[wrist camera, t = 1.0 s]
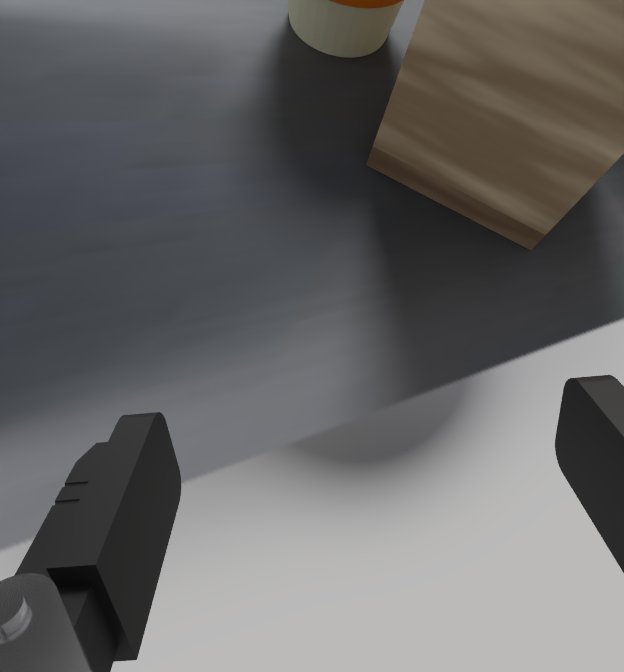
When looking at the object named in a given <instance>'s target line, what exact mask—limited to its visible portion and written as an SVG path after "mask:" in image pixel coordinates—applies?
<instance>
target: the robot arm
mask: <svg viewBox="0 0 624 672" xmlns="http://www.w3.org/2000/svg"><path fill="white" fill-rule="evenodd" d="M555 448H556V449H555V450H556V456H557V460H558V463H559V466H560V468H561V471H562V473H563V474H564V476H565V477H566V479H567V481H568V482H569V484H570V486H571V487H572V489H573V491H574V492H575V494H576V495H577V497H578V499H579V500H580V502H581V504H582V505H583V507H584V509H585V510H586V512H587V513H588V515H589V517H590V518H591V520H592V522H593V523H594V525H595V527H596V528H597V530H598V532H599V533H600V534H601V536H602V538H603V540H604V541H605V543H606V545H607V546H608V548H609V549H610V551H611V553H612V554H613V556H614V558H615V559H616V561H617V563H618V564H619V566H620V567H621V569H622V571H623V572H624V386H623V385H622V384H621V383H620V382H619V381H618V380H617V379H616V378H615V377H613V376H611V375H604V376H592V377H581V378H570V379H568V380H567V381H566V383H565V386H564V391H563V396H562V402H561V408H560V414H559V420H558V427H557V433H556V440H555ZM180 495H181V476H180V470H179V466H178V463H177V459H176V456H175V452H174V448H173V445H172V441H171V438H170V434H169V431H168V427H167V424H166V420H165V418H164V416H163V414H162V413H160V412H158V413H146V414H134V415H123V416H121V418H120V419H119V420H118V422H117V425H116V427H115V429H114V431H113V433H112V435H111V437H110V439H109V441H108V442H103V443H96V444H95V445H94V446H93V447H92V448H91V449H90V450H88V451H87V452H86V453H85V454H84V455H83V456H82V457H81V458H80V459H79V460H78V461H77V462H76V463H75V465H74V467H73V469H72V471H71V473H70V474H69V476H68V478H67V480H66V482H65V487H63V488H62V489H61V491H60V493H59V495H58V496H57V498H56V500H55V505H54V506H52V507H51V509H50V511H49V513H48V515H47V517H46V519H45V520H44V522H43V524H42V526H41V528H40V530H39V531H38V533H37V535H36V537H35V539H34V541H33V543H32V544H31V546H30V548H29V550H28V552H27V554H26V555H25V557H24V559H23V561H22V563H21V565H20V567H19V568H18V570H17V572H16V574H15V575H14V576H12V577H10V578H7V579H4V580H2V581H0V672H110V671H111V667H112V664H113V661H127V660H137V657H138V653H139V649H140V646H141V642H142V638H143V635H144V631H145V627H146V624H147V620H148V616H149V612H150V609H151V605H152V601H153V597H154V594H155V590H156V586H157V583H158V579H159V575H160V572H161V568H162V564H163V560H164V557H165V553H166V549H167V545H168V542H169V538H170V535H171V531H172V527H173V523H174V520H175V516H176V512H177V509H178V505H179V501H180Z"/></svg>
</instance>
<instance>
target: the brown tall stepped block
mask: <svg viewBox="0 0 624 672" xmlns="http://www.w3.org/2000/svg"><path fill="white" fill-rule="evenodd" d="M623 154H624V0H425V1H424V4H423V7H422V10H421V12H420V15H419V18H418V21H417V24H416V26H415V29H414V32H413V35H412V38H411V40H410V43H409V46H408V49H407V52H406V54H405V57H404V60H403V63H402V66H401V68H400V71H399V74H398V77H397V80H396V82H395V85H394V88H393V91H392V94H391V96H390V99H389V102H388V105H387V108H386V110H385V113H384V116H383V119H382V122H381V124H380V127H379V130H378V133H377V136H376V138H375V141H374V144H373V147H372V150H371V152H370V155H369V158H368V161H367V164H366V165H367V166H369V167H371V168H373V169H374V170H376V171H378V172H380V173H382V174H384V175H386V176H388V177H390V178H392V179H394V180H396V181H398V182H400V183H401V184H403V185H405V186H407V187H409V188H411V189H413V190H415V191H417V192H419V193H421V194H423V195H425V196H427V197H428V198H430V199H432V200H434V201H436V202H438V203H440V204H442V205H444V206H446V207H448V208H450V209H452V210H454V211H456V212H457V213H459V214H461V215H463V216H465V217H467V218H469V219H471V220H473V221H475V222H477V223H479V224H481V225H483V226H484V227H486V228H488V229H490V230H492V231H494V232H496V233H498V234H500V235H502V236H504V237H506V238H508V239H510V240H511V241H513V242H515V243H517V244H519V245H521V246H523V247H525V248H527V249H529V250H532V249H533V248H534V247H535V246H536V245H537V244H538V243H539V242H540V241H541V240H542V239H543V238H544V237H545V235H546V234H547V233H548V232H549V231H550V230H551V229H552V228H553V227H554V226H555V225H556V224H557V223H558V222H559V221H560V220H561V219H562V218H563V217H564V216H565V215H566V213H567V212H568V211H569V210H570V209H571V208H572V207H573V206H574V205H575V204H576V203H577V202H578V201H579V200H580V199H581V198H582V197H583V196H584V195H585V194H586V193H587V192H588V190H589V189H590V188H591V187H592V186H593V185H594V184H595V183H596V182H597V181H598V180H599V179H600V178H601V177H602V176H603V175H604V174H605V173H606V172H607V171H608V170H609V169H610V167H611V166H612V165H613V164H614V163H615V162H616V161H617V160H618V159H619V158H620V157H621V156H622V155H623Z"/></svg>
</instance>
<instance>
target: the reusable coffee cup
mask: <svg viewBox="0 0 624 672" xmlns="http://www.w3.org/2000/svg"><path fill="white" fill-rule="evenodd" d="M403 1H404V0H289V20H290V24H291V26H292V28H293V30H294V31H295V33H296V34H297V35H298V36H299V37H300V38H301V39H302V40H303V41H304V42H305V43H307V44H308V45H310V46H311V47H313V48H315V49H317V50H319V51H321V52H323V53H326V54H329V55H333V56H338V57H349V58H352V57H361V56H365V55H369V54H371V53H373V52H375V51H376V50H378V49H379V48H380V47H381V46H382V45H383V43H384V42H385V40H386V38H387V36H388V34H389V32H390V29H391V27H392V25H393V23H394V21H395V19H396V16H397V14H398V12H399V10H400V8H401V5H402V3H403Z"/></svg>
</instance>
